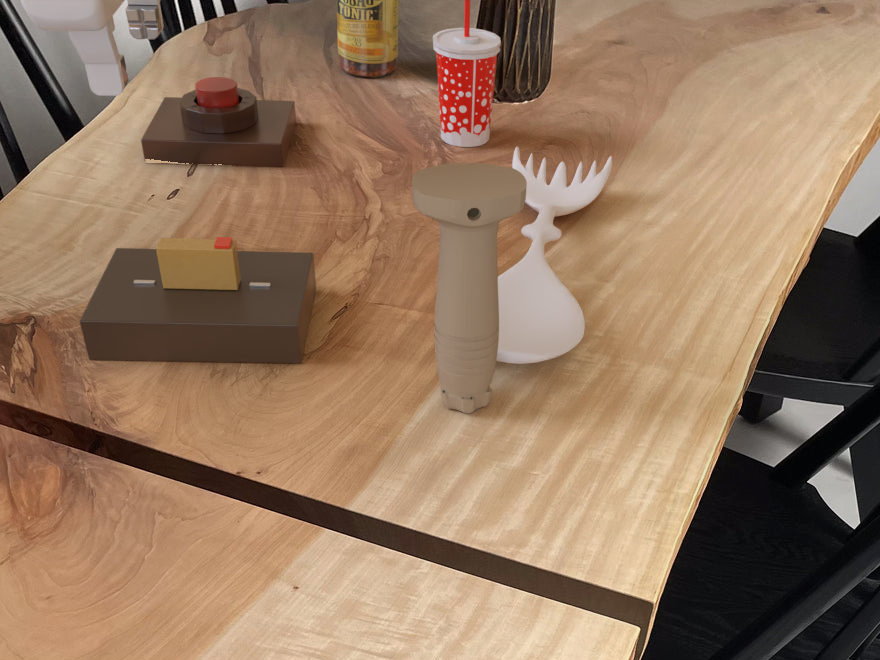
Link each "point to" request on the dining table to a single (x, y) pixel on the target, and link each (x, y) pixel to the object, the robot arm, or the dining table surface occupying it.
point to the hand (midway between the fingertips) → (130, 62)
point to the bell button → (217, 92)
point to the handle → (467, 271)
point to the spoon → (543, 270)
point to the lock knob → (199, 263)
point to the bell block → (221, 132)
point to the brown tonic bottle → (367, 36)
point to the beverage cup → (466, 82)
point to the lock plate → (201, 312)
